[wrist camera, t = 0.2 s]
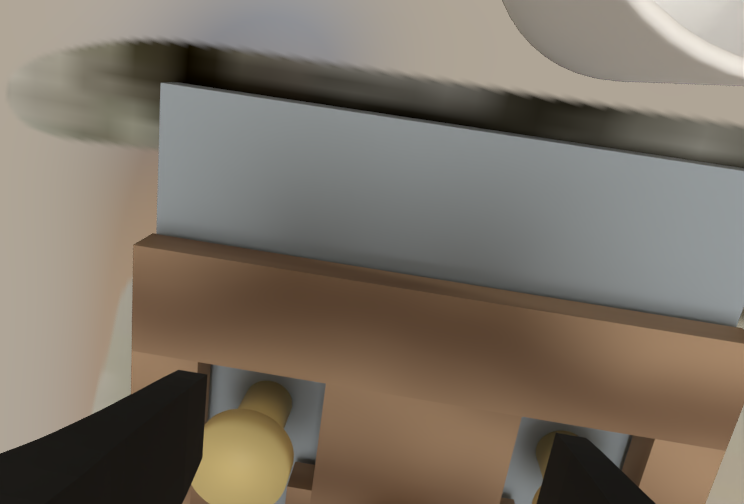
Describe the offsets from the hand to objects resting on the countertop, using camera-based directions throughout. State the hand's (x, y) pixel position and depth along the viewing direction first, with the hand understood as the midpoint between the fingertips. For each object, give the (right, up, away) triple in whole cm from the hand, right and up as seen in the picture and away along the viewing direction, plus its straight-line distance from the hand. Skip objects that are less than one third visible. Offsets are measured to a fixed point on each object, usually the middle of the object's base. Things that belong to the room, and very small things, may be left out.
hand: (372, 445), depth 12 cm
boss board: (+2, -2, +11) cm, 11 cm away
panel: (+1, -4, +10) cm, 11 cm away
